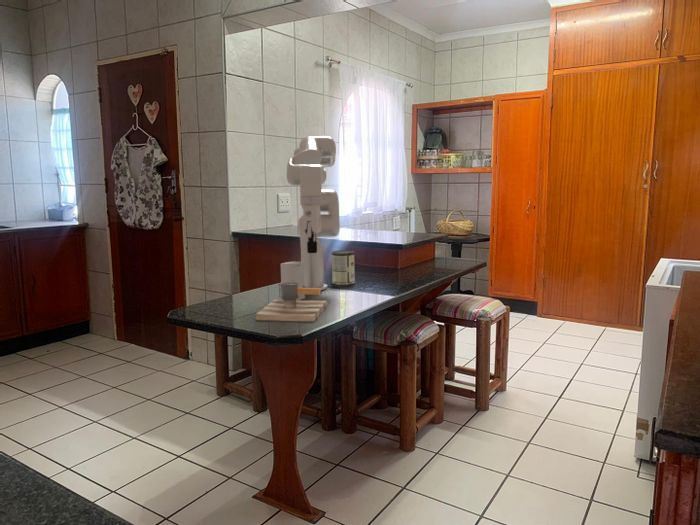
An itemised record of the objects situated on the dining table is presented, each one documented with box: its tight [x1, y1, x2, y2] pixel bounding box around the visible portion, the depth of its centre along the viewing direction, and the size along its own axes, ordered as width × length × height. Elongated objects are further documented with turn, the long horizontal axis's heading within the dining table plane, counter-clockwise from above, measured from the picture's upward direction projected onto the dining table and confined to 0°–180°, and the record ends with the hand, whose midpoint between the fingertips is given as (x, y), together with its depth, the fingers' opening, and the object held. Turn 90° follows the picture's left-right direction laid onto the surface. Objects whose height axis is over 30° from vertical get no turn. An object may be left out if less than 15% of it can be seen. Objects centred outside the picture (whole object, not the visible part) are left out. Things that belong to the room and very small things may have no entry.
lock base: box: [255, 299, 328, 323], centre depth 191 cm, size 22×20×5 cm
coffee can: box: [331, 249, 356, 286], centre depth 244 cm, size 10×10×14 cm
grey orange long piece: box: [280, 282, 322, 300], centre depth 189 cm, size 14×6×5 cm, turn 78°
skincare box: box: [280, 261, 306, 300], centre depth 211 cm, size 8×6×15 cm
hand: (312, 252), depth 193 cm, fingers closed
